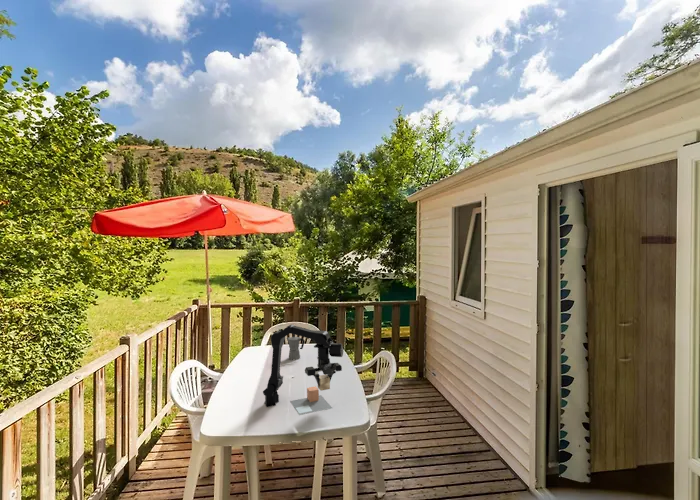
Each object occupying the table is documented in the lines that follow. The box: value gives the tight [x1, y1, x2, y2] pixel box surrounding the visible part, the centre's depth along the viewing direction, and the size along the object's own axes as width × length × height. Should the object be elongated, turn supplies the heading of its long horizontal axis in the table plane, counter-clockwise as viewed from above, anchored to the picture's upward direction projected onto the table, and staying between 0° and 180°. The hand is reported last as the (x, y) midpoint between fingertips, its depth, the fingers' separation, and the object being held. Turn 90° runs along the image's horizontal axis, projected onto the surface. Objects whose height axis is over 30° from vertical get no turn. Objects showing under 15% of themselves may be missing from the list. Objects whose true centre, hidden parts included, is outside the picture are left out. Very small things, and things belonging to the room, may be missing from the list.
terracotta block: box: [306, 385, 320, 402], centre depth 204 cm, size 5×5×6 cm
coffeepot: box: [285, 334, 306, 360], centre depth 280 cm, size 15×9×18 cm, turn 70°
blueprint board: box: [290, 394, 333, 416], centre depth 198 cm, size 18×18×1 cm
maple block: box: [317, 374, 331, 391], centre depth 195 cm, size 5×5×6 cm
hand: (323, 385), depth 195 cm, fingers closed on maple block, 5 cm apart
